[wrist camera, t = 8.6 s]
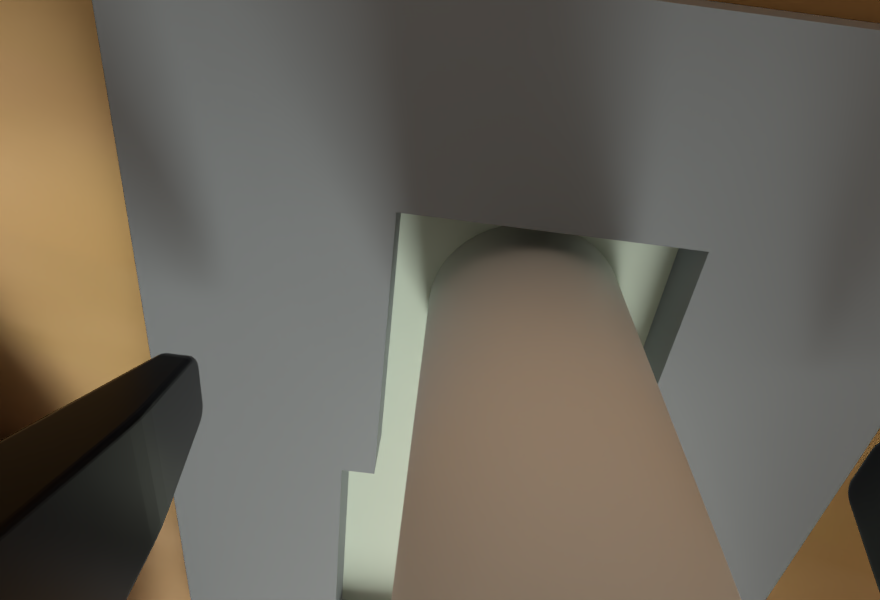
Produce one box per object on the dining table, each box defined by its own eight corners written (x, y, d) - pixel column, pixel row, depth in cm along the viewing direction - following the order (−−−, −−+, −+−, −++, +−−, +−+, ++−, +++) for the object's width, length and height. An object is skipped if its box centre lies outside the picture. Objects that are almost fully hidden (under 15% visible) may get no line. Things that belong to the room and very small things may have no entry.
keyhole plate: (668, 678, 17) (680, 728, 16) (220, 627, 16) (203, 674, 15) (1040, 44, 8) (1122, 63, 7) (130, -78, 8) (79, -77, 7)
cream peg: (593, 393, 11) (806, 1260, 4) (420, 371, 11) (313, 1209, 4) (644, 236, 10) (1171, 1237, 2) (440, 211, 10) (319, 1149, 2)
